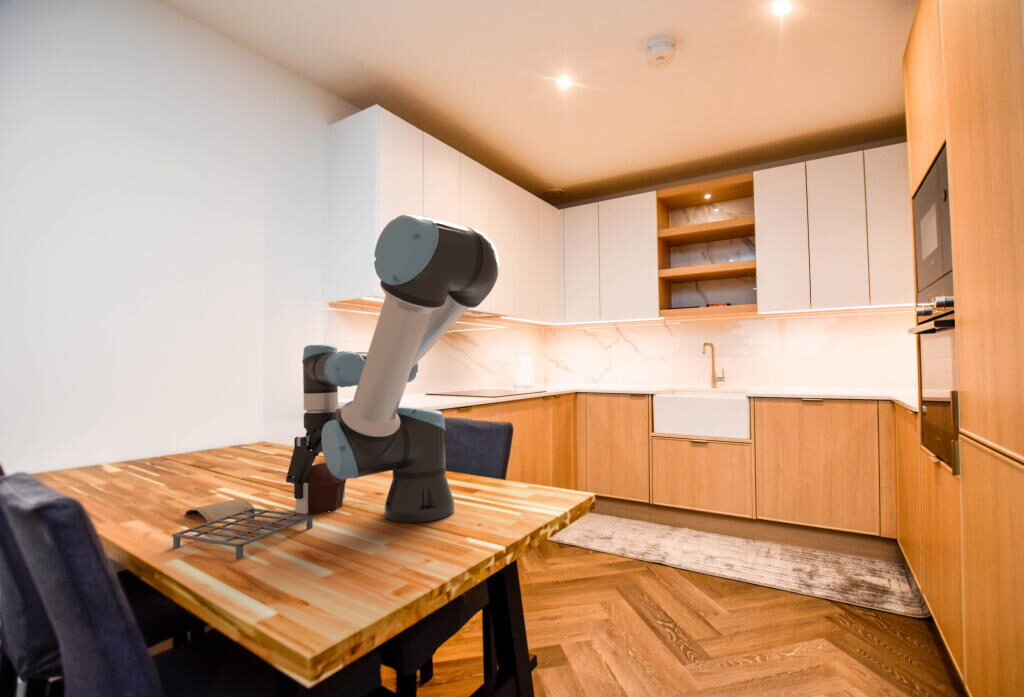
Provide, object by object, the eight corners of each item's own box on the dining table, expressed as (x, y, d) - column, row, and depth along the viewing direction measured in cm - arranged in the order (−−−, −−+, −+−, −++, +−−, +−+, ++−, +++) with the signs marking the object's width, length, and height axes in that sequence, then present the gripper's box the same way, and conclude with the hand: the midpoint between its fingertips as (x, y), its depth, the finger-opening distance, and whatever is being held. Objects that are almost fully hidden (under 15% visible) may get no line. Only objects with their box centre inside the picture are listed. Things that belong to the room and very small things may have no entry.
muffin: (287, 508, 113) (287, 465, 113) (333, 498, 121) (333, 458, 121) (308, 519, 104) (307, 472, 105) (356, 507, 112) (355, 464, 112)
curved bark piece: (258, 514, 110) (258, 502, 110) (210, 527, 102) (210, 514, 102) (229, 505, 119) (229, 494, 119) (182, 516, 111) (182, 504, 111)
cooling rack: (313, 527, 99) (313, 515, 99) (239, 559, 83) (239, 545, 83) (252, 519, 105) (252, 508, 105) (172, 548, 89) (172, 534, 89)
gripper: (342, 406, 126) (343, 491, 125) (266, 416, 104) (267, 519, 103) (366, 406, 123) (367, 493, 122) (293, 416, 101) (294, 522, 100)
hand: (321, 505), depth 112 cm, fingers closed on muffin, 11 cm apart
